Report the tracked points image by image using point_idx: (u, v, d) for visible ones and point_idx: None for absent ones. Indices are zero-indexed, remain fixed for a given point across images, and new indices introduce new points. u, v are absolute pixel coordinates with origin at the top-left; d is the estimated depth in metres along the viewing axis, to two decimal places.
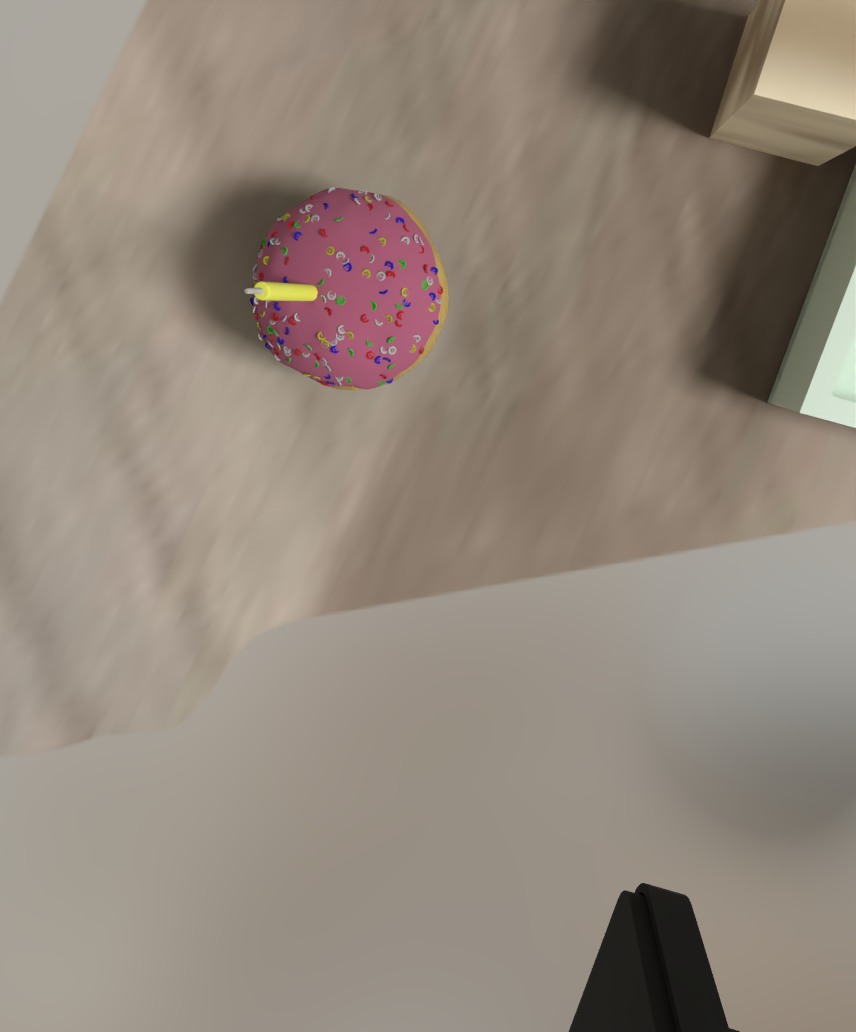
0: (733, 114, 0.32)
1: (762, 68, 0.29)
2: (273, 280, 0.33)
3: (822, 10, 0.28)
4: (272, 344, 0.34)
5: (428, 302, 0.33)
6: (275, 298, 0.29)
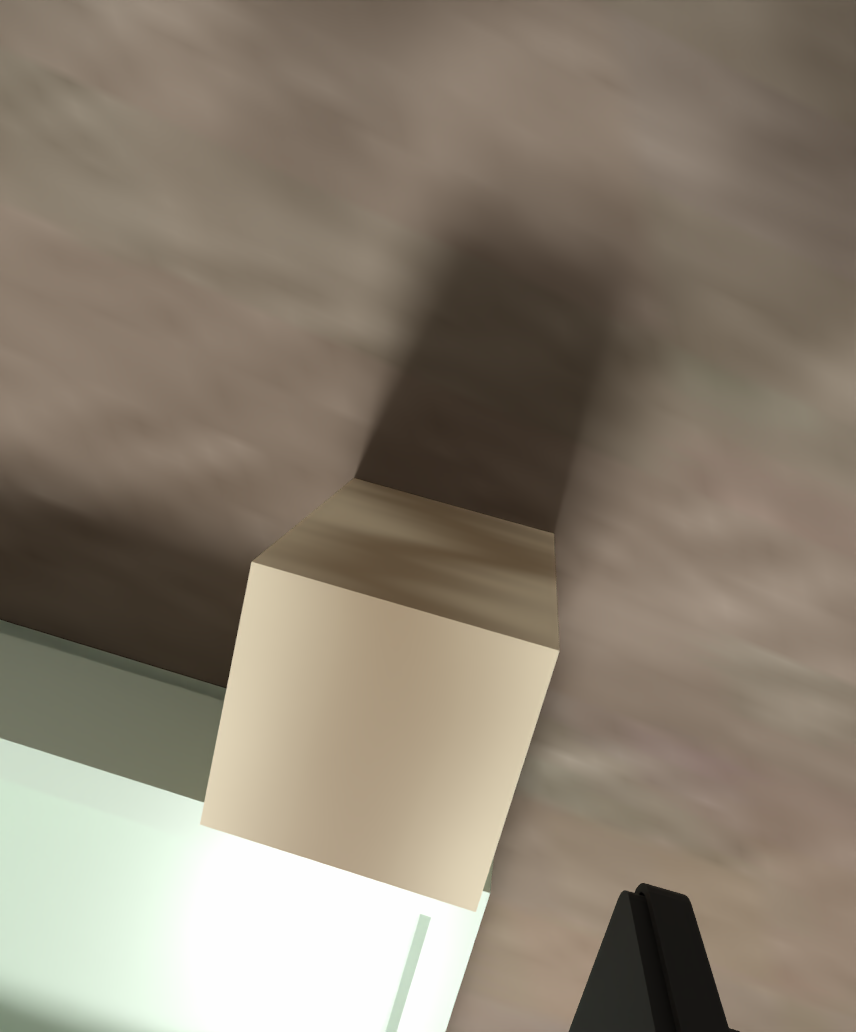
0: (306, 519, 0.15)
1: (306, 576, 0.12)
2: None
3: (418, 691, 0.13)
4: None
5: None
6: None
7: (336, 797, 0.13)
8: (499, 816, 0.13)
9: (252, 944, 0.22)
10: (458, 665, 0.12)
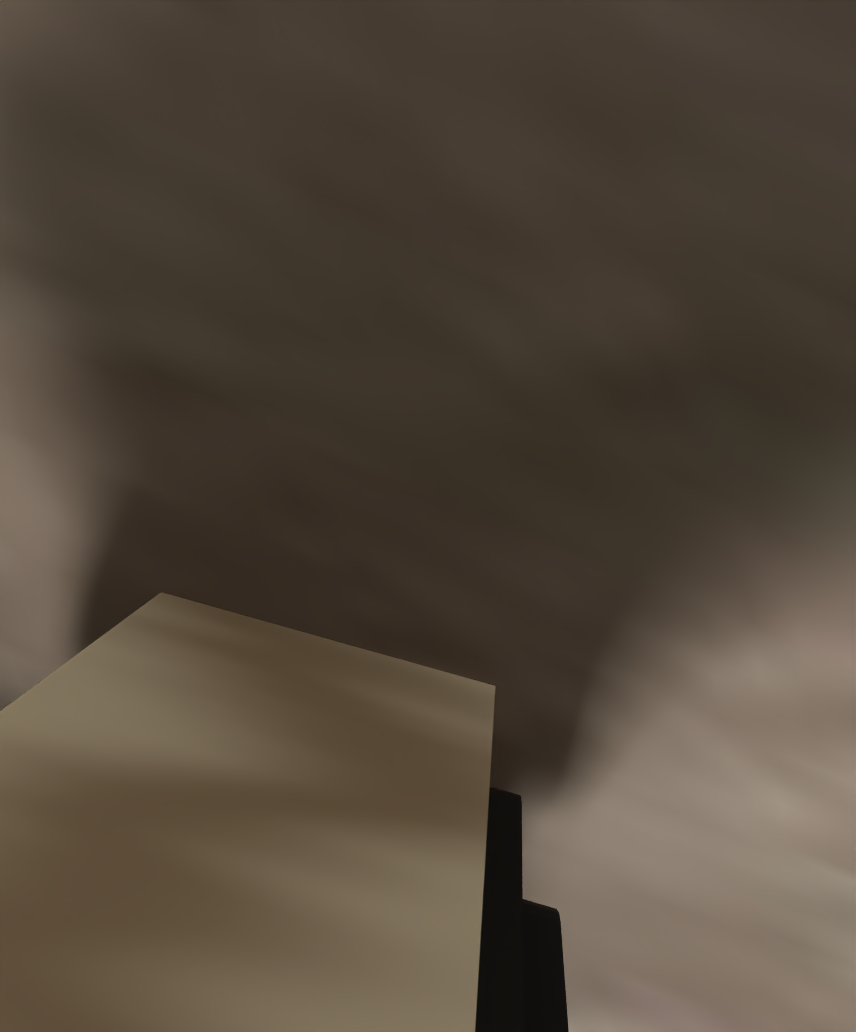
0: None
1: None
2: None
3: None
4: None
5: None
6: None
7: None
8: None
9: None
10: None
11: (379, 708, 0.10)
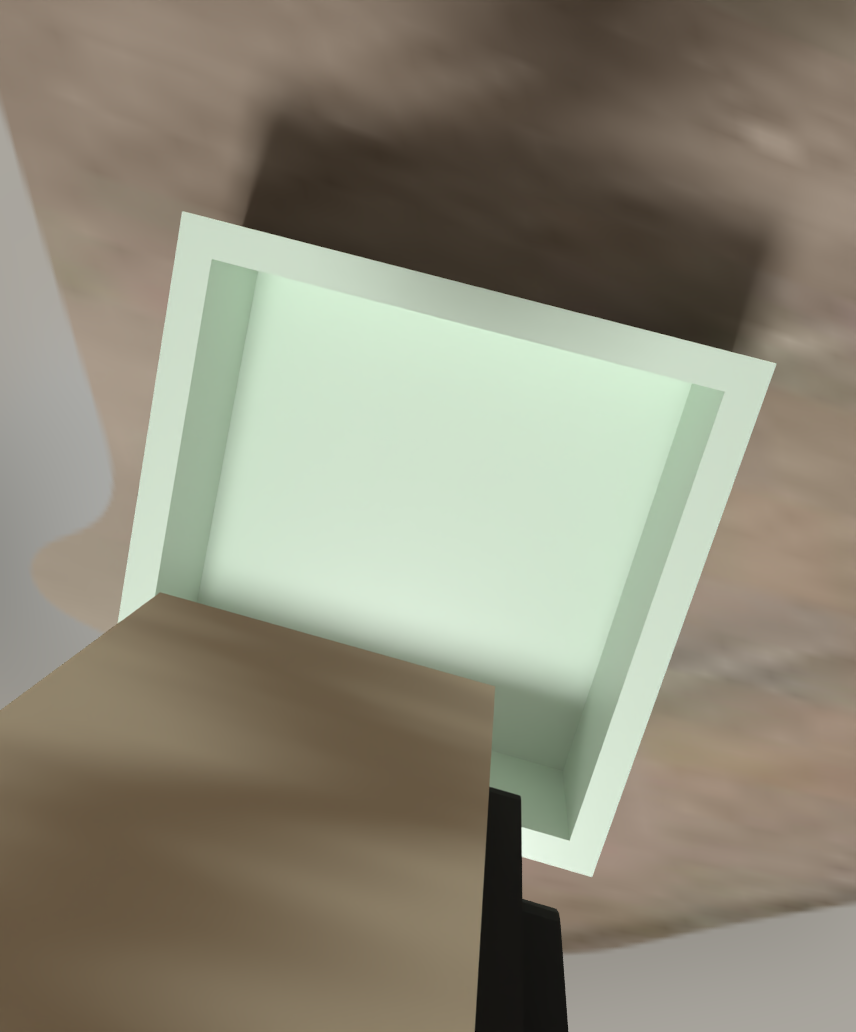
0: None
1: None
2: None
3: None
4: None
5: None
6: None
7: None
8: None
9: (505, 531, 0.26)
10: None
11: (378, 709, 0.10)
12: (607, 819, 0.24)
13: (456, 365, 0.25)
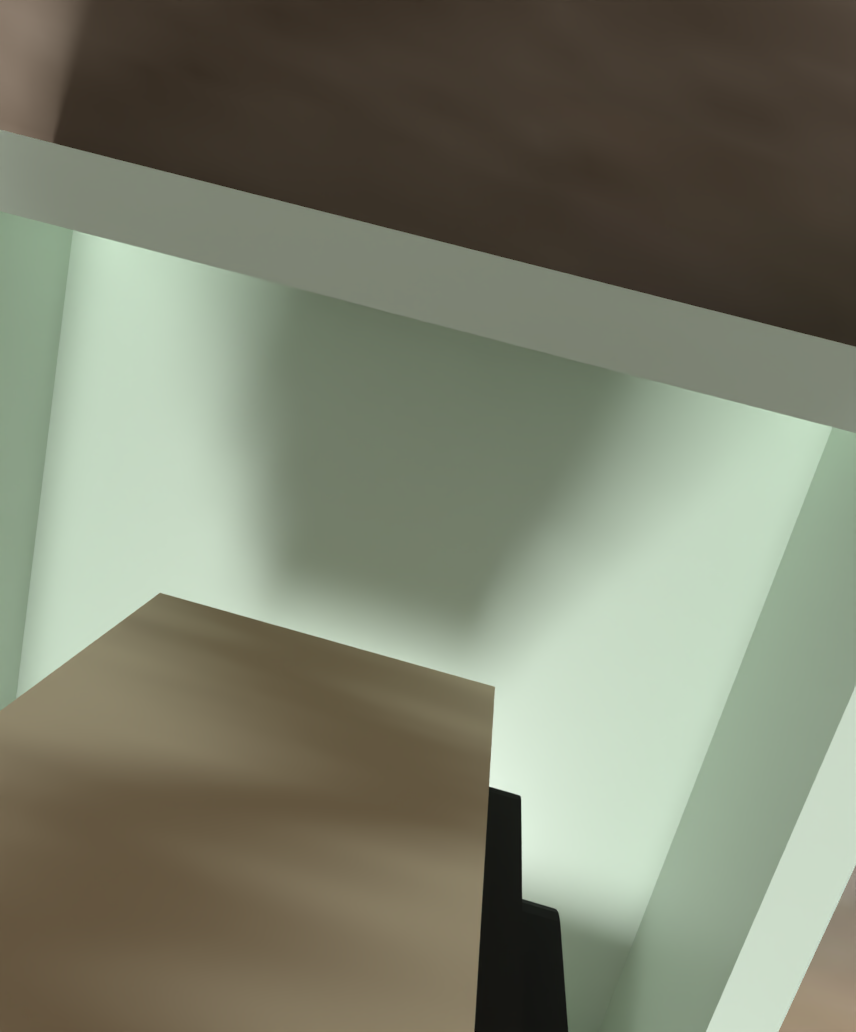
0: None
1: None
2: None
3: None
4: None
5: None
6: None
7: None
8: None
9: (502, 669, 0.15)
10: None
11: (378, 709, 0.10)
12: None
13: (417, 391, 0.14)
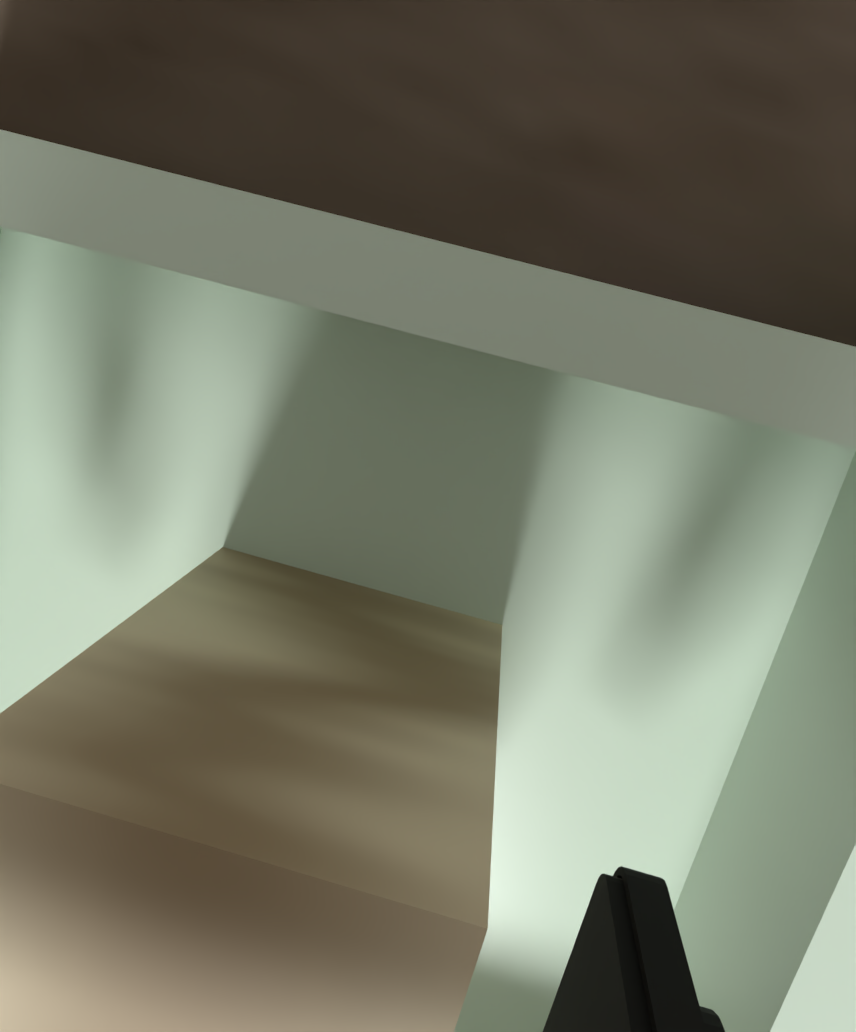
0: (103, 638, 0.10)
1: (34, 788, 0.07)
2: None
3: (242, 987, 0.07)
4: None
5: None
6: None
7: None
8: None
9: None
10: (307, 947, 0.07)
11: (408, 636, 0.12)
12: None
13: (390, 405, 0.13)
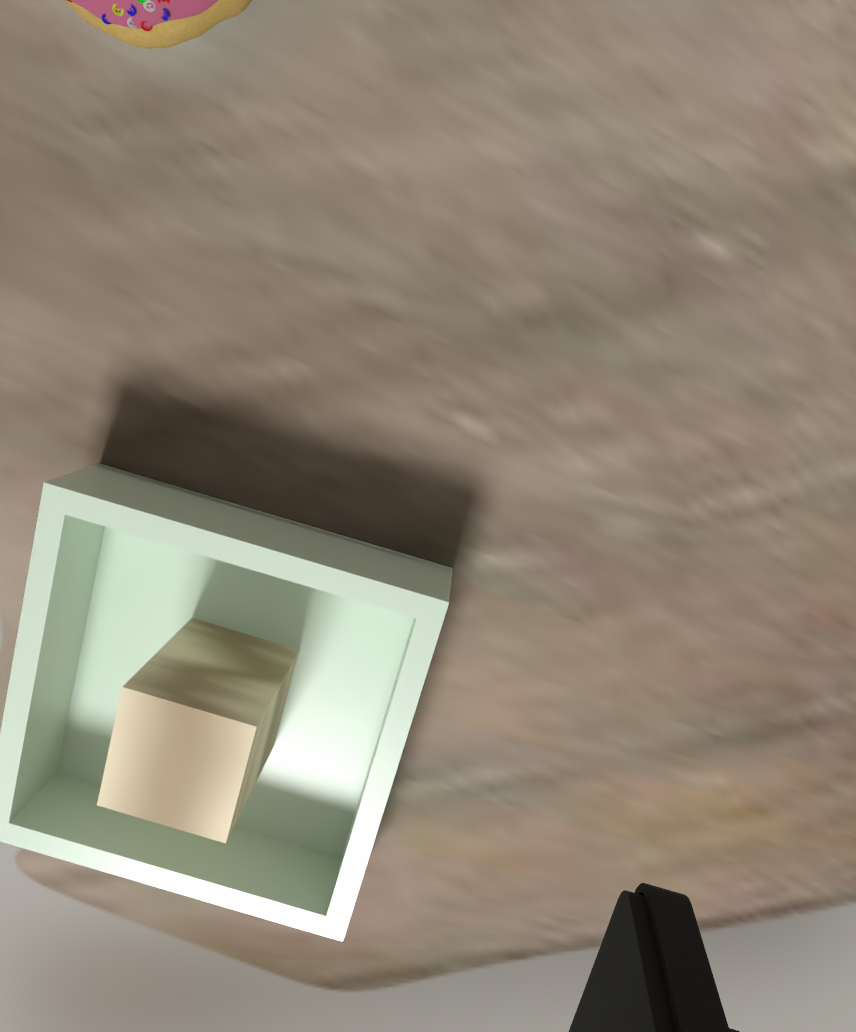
0: (155, 655, 0.31)
1: (147, 693, 0.28)
2: None
3: (197, 743, 0.28)
4: None
5: (122, 3, 0.25)
6: None
7: (161, 791, 0.29)
8: (234, 799, 0.29)
9: (294, 684, 0.35)
10: (213, 732, 0.28)
11: (259, 654, 0.33)
12: (351, 901, 0.33)
13: None
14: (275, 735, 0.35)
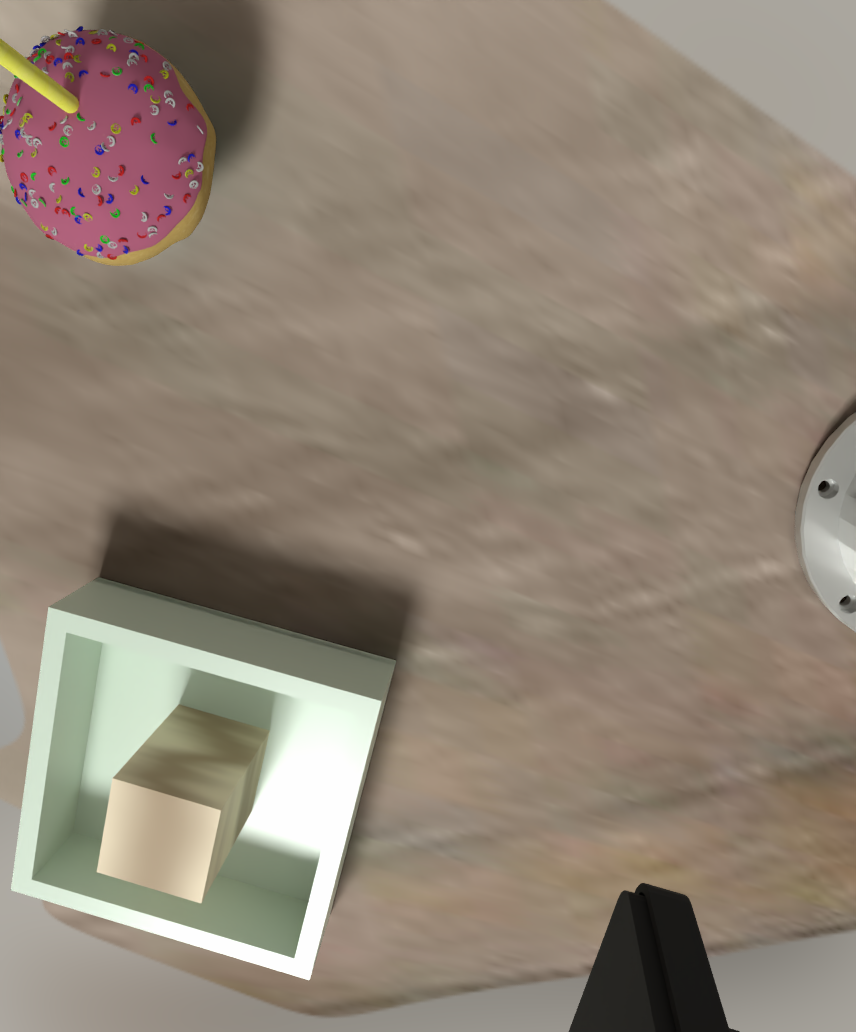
0: (143, 744, 0.37)
1: (132, 783, 0.34)
2: (86, 56, 0.29)
3: (174, 823, 0.35)
4: (32, 55, 0.30)
5: (91, 243, 0.31)
6: None
7: (147, 861, 0.35)
8: (206, 867, 0.35)
9: (267, 759, 0.41)
10: (186, 814, 0.34)
11: (233, 737, 0.40)
12: (315, 946, 0.39)
13: None
14: (252, 802, 0.42)
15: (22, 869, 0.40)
